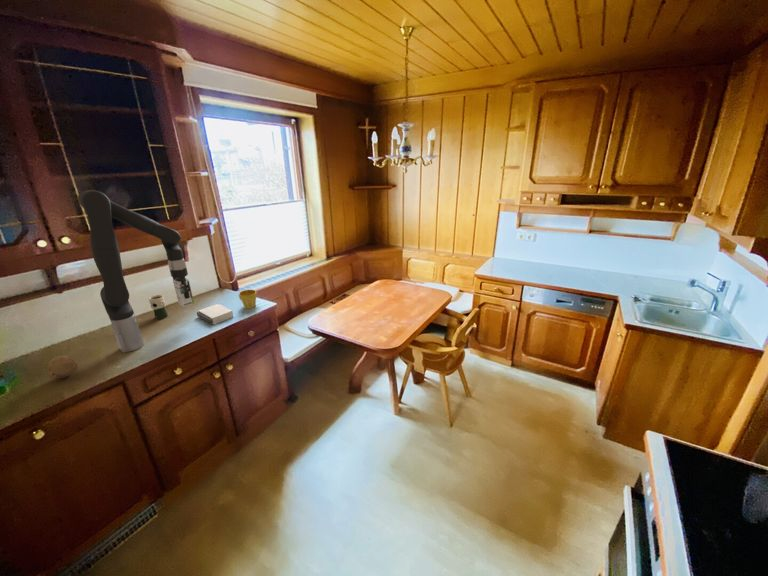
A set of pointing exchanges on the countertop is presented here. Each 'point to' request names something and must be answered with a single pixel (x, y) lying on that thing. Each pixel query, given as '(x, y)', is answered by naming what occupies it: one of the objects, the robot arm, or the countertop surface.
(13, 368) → the countertop surface
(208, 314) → the dock
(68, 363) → the natural sponge
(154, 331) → the countertop surface
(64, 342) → the countertop surface
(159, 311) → the character mug
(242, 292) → the plant pot
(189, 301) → the syrup box
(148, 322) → the countertop surface
